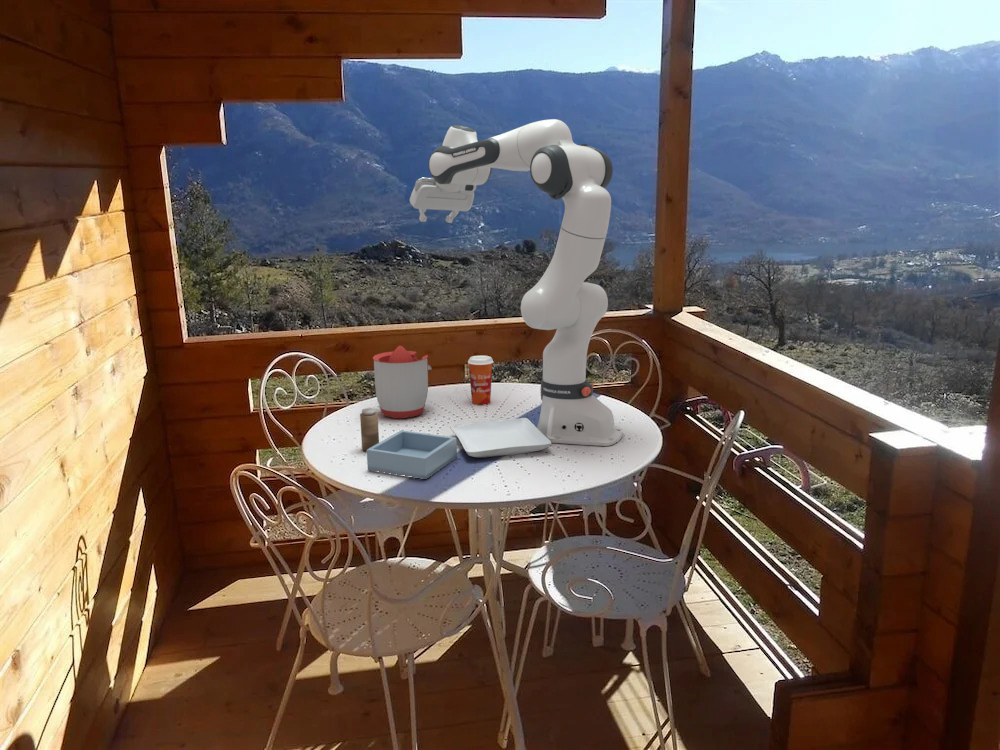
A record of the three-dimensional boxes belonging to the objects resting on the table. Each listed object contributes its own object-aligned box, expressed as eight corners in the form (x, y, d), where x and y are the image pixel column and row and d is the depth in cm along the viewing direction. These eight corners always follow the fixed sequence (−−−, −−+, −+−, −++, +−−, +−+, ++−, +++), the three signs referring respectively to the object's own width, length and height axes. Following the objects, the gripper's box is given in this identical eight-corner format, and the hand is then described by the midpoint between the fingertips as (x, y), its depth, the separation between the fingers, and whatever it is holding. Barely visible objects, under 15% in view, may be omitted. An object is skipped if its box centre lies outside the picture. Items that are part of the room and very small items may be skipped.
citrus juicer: (445, 413, 197) (443, 345, 192) (393, 425, 186) (390, 353, 182) (416, 401, 209) (413, 337, 204) (365, 412, 198) (361, 345, 193)
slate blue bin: (456, 457, 161) (456, 437, 160) (426, 480, 148) (425, 458, 147) (402, 449, 167) (401, 430, 166) (367, 470, 154) (366, 449, 152)
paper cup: (467, 406, 204) (466, 360, 201) (469, 399, 211) (468, 355, 208) (493, 406, 204) (493, 360, 200) (494, 399, 211) (494, 355, 208)
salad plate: (467, 464, 158) (466, 450, 157) (449, 436, 178) (448, 423, 177) (553, 455, 163) (553, 442, 162) (526, 429, 183) (526, 417, 182)
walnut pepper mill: (382, 447, 169) (380, 408, 166) (373, 452, 165) (371, 413, 163) (368, 445, 170) (366, 406, 168) (358, 450, 167) (356, 411, 164)
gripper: (422, 181, 192) (410, 225, 200) (481, 186, 205) (467, 227, 212) (412, 171, 196) (401, 214, 204) (470, 177, 208) (457, 217, 216)
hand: (435, 221), depth 208 cm, fingers open, 8 cm apart
